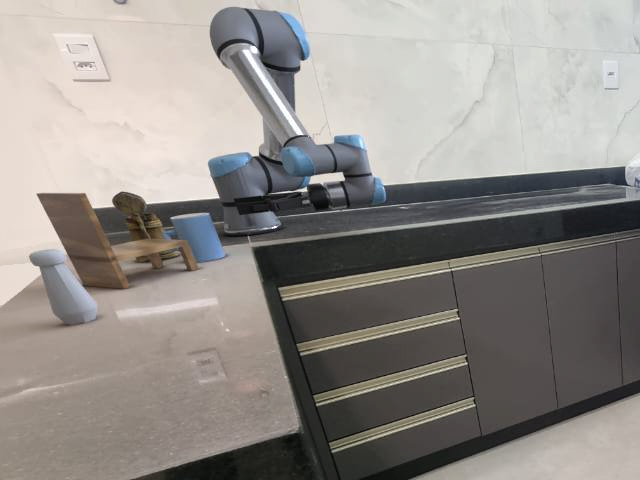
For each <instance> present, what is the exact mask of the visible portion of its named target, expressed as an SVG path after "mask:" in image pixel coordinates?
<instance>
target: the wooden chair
mask: <svg viewBox="0 0 640 480" xmlns="http://www.w3.org/2000/svg"><path fill="white" fill-rule="evenodd" d="M36 196H37V199H38V200H39V202H40V204H41V206H42V209H43V210H44V212H45V214H46V215H47V217H48V220H49V221H50V223H51V225H52V227H53V229H54V231H55V233H56V236H57V237H58V239H59V241H60V243H61V245H62V246H63V249H64V250H65V253H66V255H67V256H68V258H69V260H70V262H71V264H72V266H73V268H74V270H75V272H76V274H77V276H78V277H79V279H80V282H81V283H82V286H88V287H98V288H99V287H100V288H111V289H123V290H125V289H130V288H131V285H130V284H129V282H128V279H127V277H126V275H125V272H124V271H123V269H122V267H121V264H120V263H119V262H121V261H125V260H131V259H134V258H135V259H136V257H139V256H144V255H148V257H149V260H150V262H149V263H150V264H151V266H152V268H153V269H160V268H165V265H164V263H163V260H161V258H160V256H159V253H158V252H161V251H166V250H170V249H174V248H179V250H180V251H179V253H180V255H181V257H182V260H183V262H184V265H185V267H186V269H187V271H196V270H199V269H200V267H199V265H198V262H196V260H195V258H194V255H193V253H192V251H191V248H190V246H189V243H188V241H187V240H179V239H172V238H171V239H172V240H171V239H148V238H147V239H143V240H138V241H133V242H132V241H128V242H123V243H118V244H113V245H111V244H110V241H109V240H108V238H107V237H108V236H106V233H105V231H104V229H103V227H102V224H101V223H100V220H99V218H98V217H97V215H96V212H95V211H94V208H93V206H92V204H91V201H90V199H89V198H88V195H87V194H86V193H85V192H39V193H36Z"/></svg>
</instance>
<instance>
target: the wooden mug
mask: <svg viewBox="0 0 640 480" xmlns="http://www.w3.org/2000/svg"><path fill="white" fill-rule="evenodd" d="M111 203H112V205H113V207H115V209H117V210H118V211H119V212H121V213H123V214H128V215H127V216H126V217H125V221H126V222H125V224H126V228H127V229H128V231H129V234H130V238H131V242H133V241H138V240H143V239H147V238H148V239H165V238H164V235H163V232H164V231H165V229H164V227H163V222H162V221H161V219H160V218H158V217H157V215H156V213H144V212H145V211H146V210H147V209H148V204H147V202H146V201H145V199H144V198H143V197H142V196H140V195H138V194H135V193H132V192H128V191H120V192H118V193H116V194H115V195H114V196H113V197H112V199H111ZM158 253H159V256H160V258H161V260H162V261H163V260H164V261H165V260H168V259H169V260H170V259H172V258H175V257H178V256H179V251H175V252H172V251H170V250H166V251H161V252H158ZM135 260H136V262H138V263H151V262H150V260H149V257H148V255H144V256H139V257H135Z"/></svg>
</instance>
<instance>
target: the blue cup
mask: <svg viewBox="0 0 640 480" xmlns="http://www.w3.org/2000/svg"><path fill="white" fill-rule="evenodd" d="M170 221H171V223H172V226H173V228H174V229H171V230H164V232H163V235H164V238H165V239H171V240H173V239H172V237H171V236H177V238H178V240H187V241H188V243H189V246H190V248H191V251H192V253H193V255H194V258H195V260H196V263H203V262H205V263H206V262H210V261H215V260H221V259H223V258H224V257H226V253H225V249H224V248H223V245H222V242H221V239H220V237H219V234H218V232H217V229H216V227H215V224H214V221H213V219H212V216H211V214H210V213H209V212H197V213H196V212H195V213H187V214H182V215H175V216H172V217H170ZM170 251H172V252H175V251H177V252H180V250H179V248H174V249H170Z"/></svg>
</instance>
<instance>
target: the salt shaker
mask: <svg viewBox="0 0 640 480" xmlns="http://www.w3.org/2000/svg"><path fill="white" fill-rule="evenodd" d="M66 255H67V254H65V252H64V251H63V250H60V249H58V248H47V249H41V250H37V251H33V252H31V253H30V254H29V255H28V259H29V261H30V263H31V264H32V265H33V266H35V267H38V268H39V271H40V275H41V278H42V281H43V285H44V288H45V291H46V294H47V298H48V301H49V305H50V308H51V311H52V313H53V315H54V316H55V317H56V318H58V319H59V320H60V321H62V322H63V323H64V324H65V325H71V326H74V325H79V324H86V323H89V322H91V321H94V320H97V314H98V308H99V305H98V303H97V301H96V300H95V299H94V298H93V297H92V295H91V294H89V292H88V291H87V290H86V289H85V287H84V285H83V284H81V282H80V281H78V279H77V278H76V276H75V275H74V274H73V273H72V272H71V271H70V269H69V268H68V267H67V266H66V264H65V262H67V261H68V258H67V256H66Z"/></svg>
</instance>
